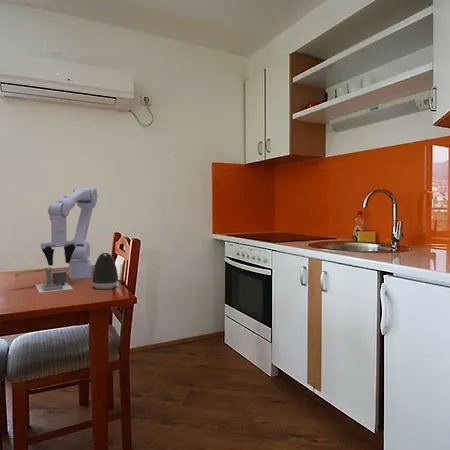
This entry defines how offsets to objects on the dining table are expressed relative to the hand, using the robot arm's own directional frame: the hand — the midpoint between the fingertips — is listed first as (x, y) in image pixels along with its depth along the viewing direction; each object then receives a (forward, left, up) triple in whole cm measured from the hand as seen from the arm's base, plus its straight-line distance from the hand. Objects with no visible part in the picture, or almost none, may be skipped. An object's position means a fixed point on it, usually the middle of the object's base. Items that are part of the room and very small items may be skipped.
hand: (59, 264), depth 146 cm
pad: (0, 0, -9) cm, 9 cm away
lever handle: (+9, -2, -4) cm, 10 cm away
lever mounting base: (+3, +2, -10) cm, 10 cm away
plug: (0, 0, -8) cm, 8 cm away
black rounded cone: (-15, +13, -10) cm, 22 cm away
